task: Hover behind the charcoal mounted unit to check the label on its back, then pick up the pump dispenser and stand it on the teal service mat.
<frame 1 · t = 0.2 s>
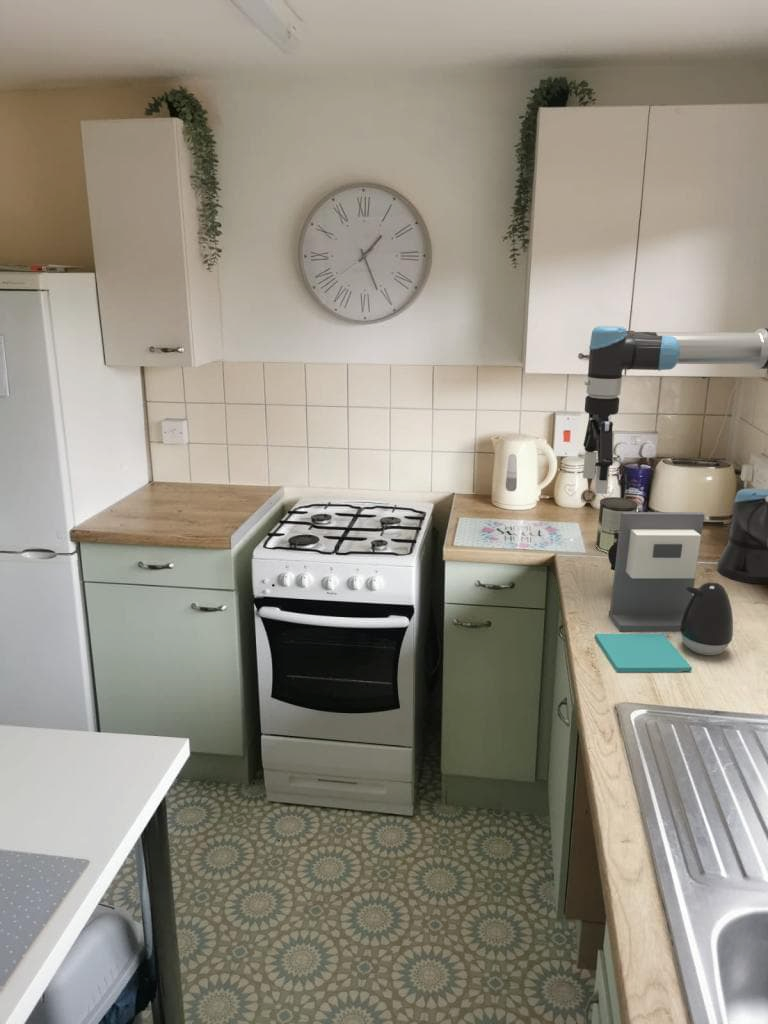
hand: (594, 485, 181), 28 cm above the worktop, tool pointing down, fingers open, 13 cm apart
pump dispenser: (702, 650, 161), on the worktop
service mat: (640, 654, 159), on the worktop
mounted unit: (652, 622, 174), on the worktop
coffee can: (613, 549, 221), on the worktop
ball valve: (638, 593, 190), on the worktop
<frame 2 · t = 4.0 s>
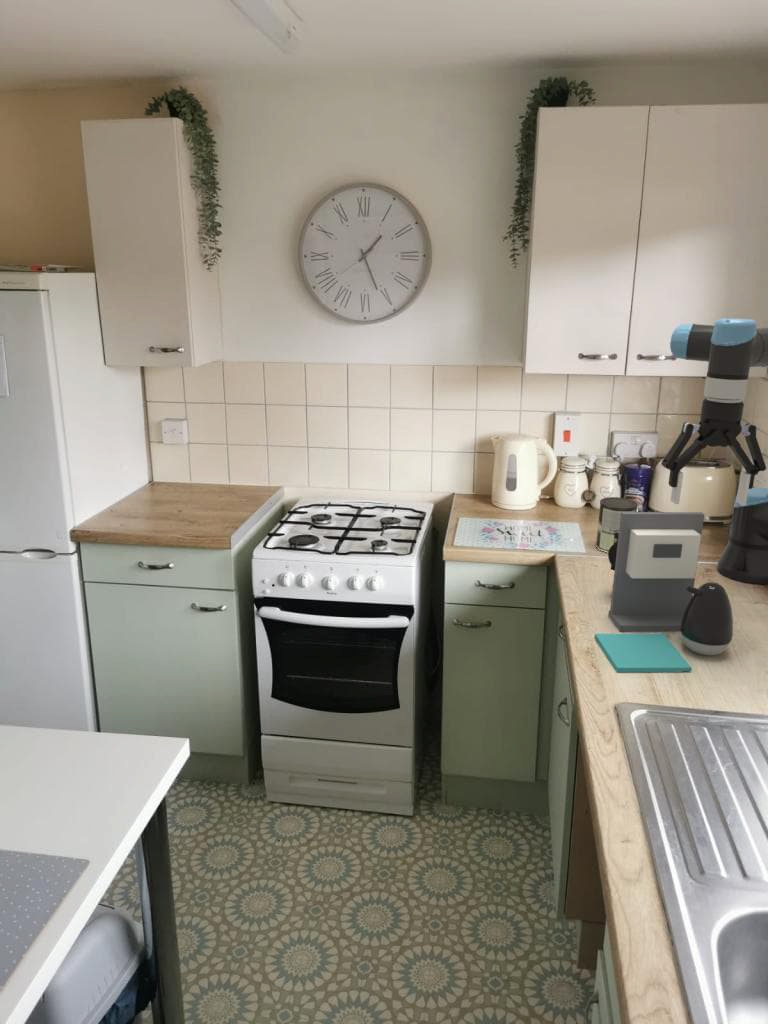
hand: (707, 503, 156), 31 cm above the worktop, tool pointing down, fingers open, 13 cm apart
nothing on the worktop moved.
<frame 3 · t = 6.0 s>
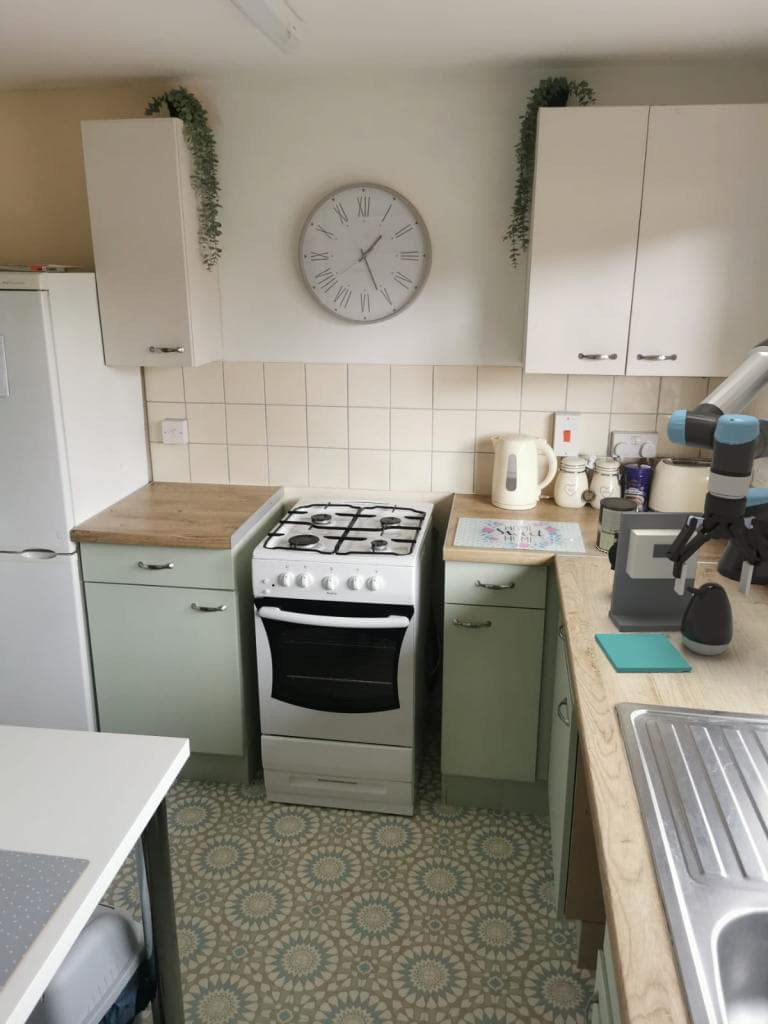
hand: (710, 593, 157), 13 cm above the worktop, tool pointing down, fingers open, 13 cm apart
nothing on the worktop moved.
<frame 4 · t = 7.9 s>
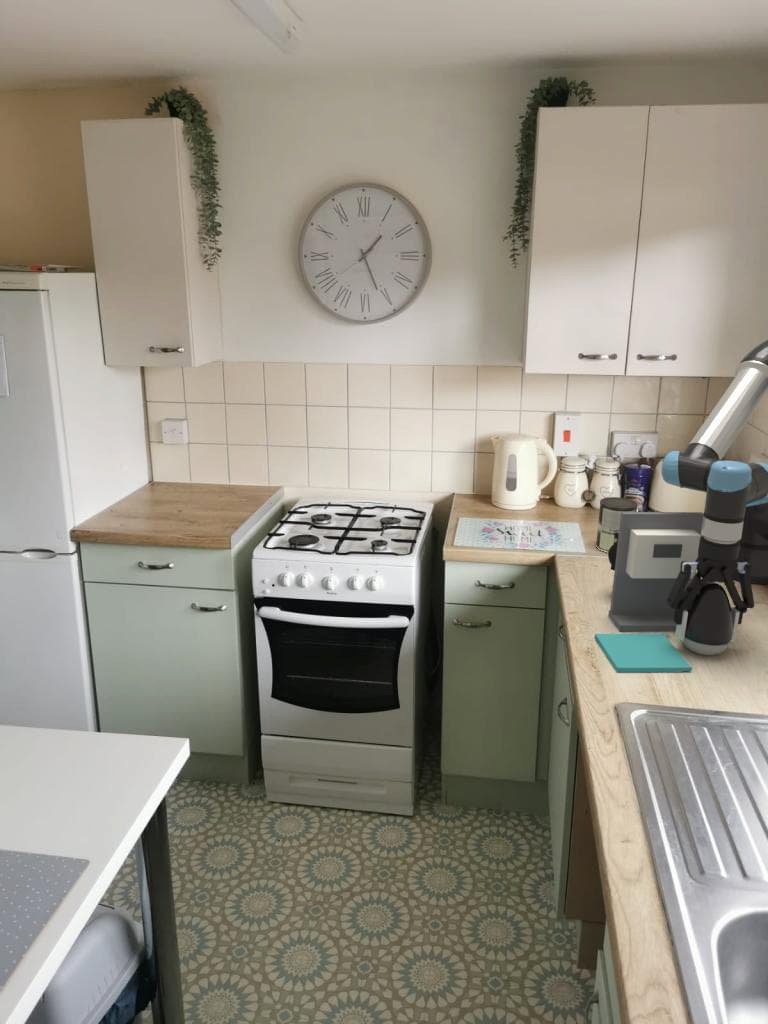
hand: (704, 637, 161), 3 cm above the worktop, tool pointing down, fingers closed on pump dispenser, 10 cm apart
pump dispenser: (702, 650, 161), on the worktop, touching gripper
everything else where it was.
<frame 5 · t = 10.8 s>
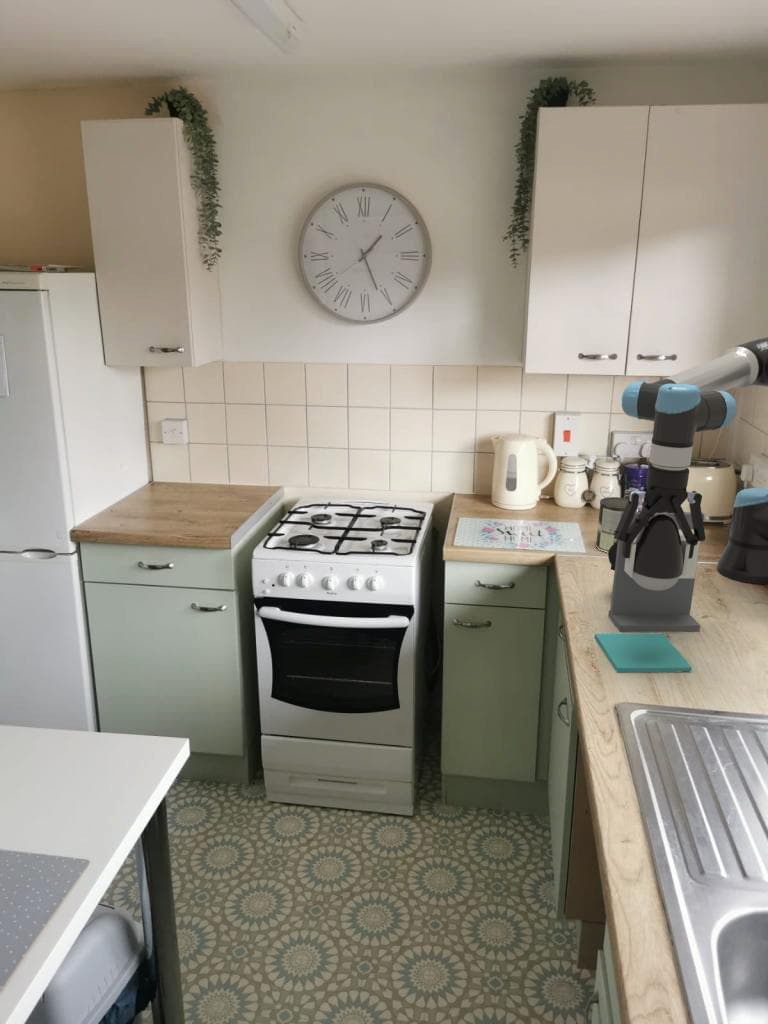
hand: (654, 572, 154), 18 cm above the worktop, tool pointing down, fingers closed on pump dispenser, 10 cm apart
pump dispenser: (652, 586, 154), point 15 cm above the worktop, touching gripper
everything else where it was.
when the fingers open (5 cm above the worktop, at t = 13.8 s): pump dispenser drops 1 cm, resting on service mat.
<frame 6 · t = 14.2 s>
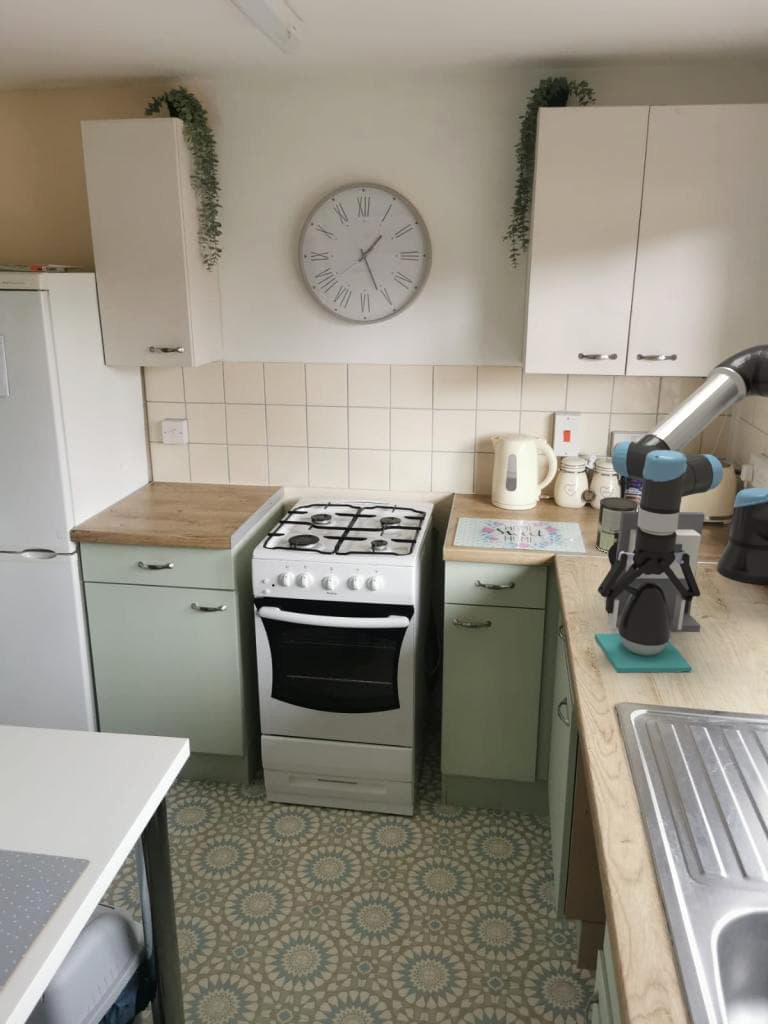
hand: (644, 627, 157), 6 cm above the worktop, tool pointing down, fingers open, 13 cm apart
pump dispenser: (641, 650, 159), point 1 cm above the worktop, touching service mat
everything else where it was.
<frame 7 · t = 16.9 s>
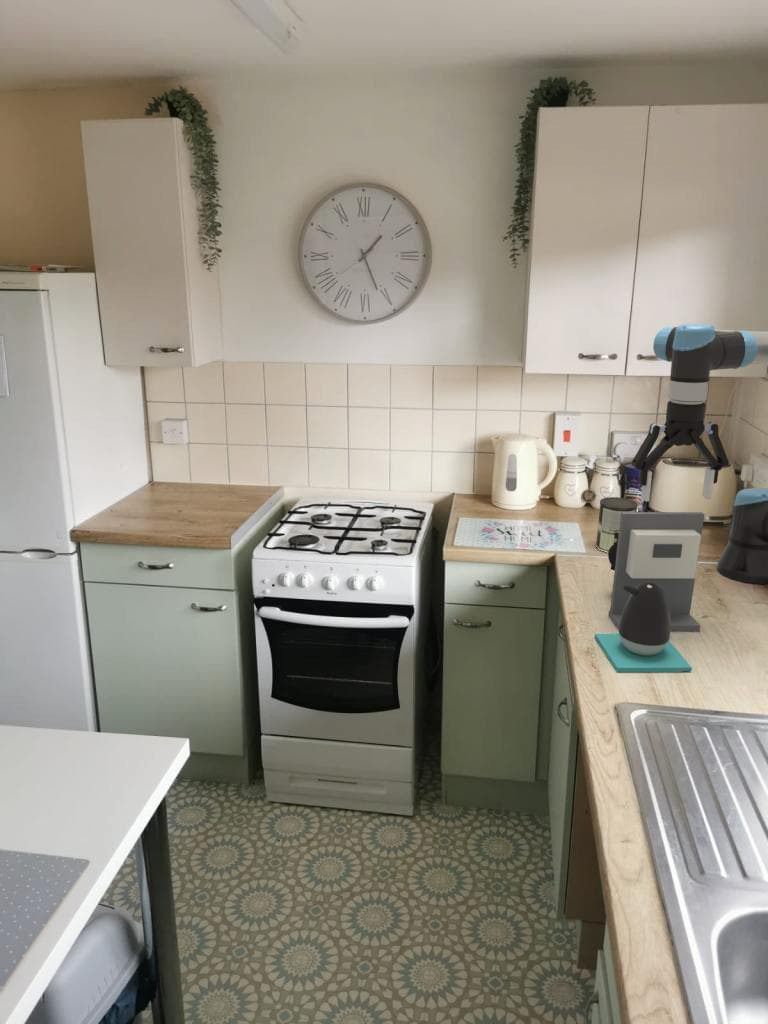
hand: (675, 498, 165), 29 cm above the worktop, tool pointing down, fingers open, 13 cm apart
nothing on the worktop moved.
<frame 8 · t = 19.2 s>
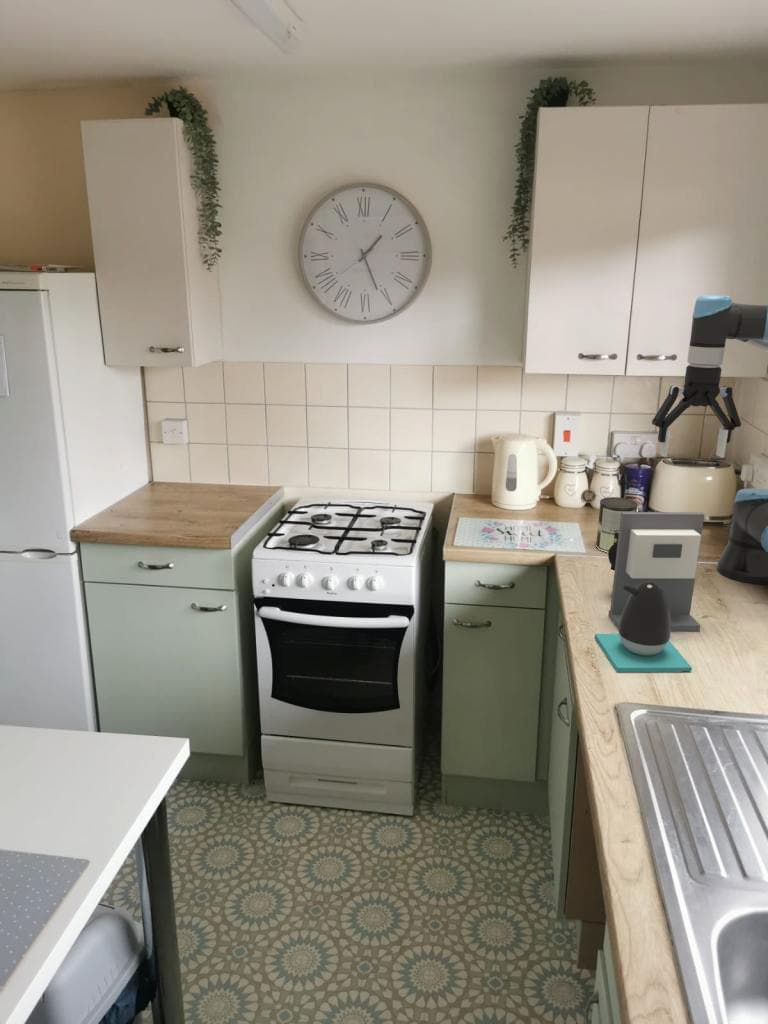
hand: (691, 456, 181), 35 cm above the worktop, tool pointing down, fingers open, 13 cm apart
nothing on the worktop moved.
at the end: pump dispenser inside the target area on the service mat (0.0 cm from its centre), point 0.8 cm above the service mat's base; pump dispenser tilted 0°; the gripper is holding nothing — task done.
